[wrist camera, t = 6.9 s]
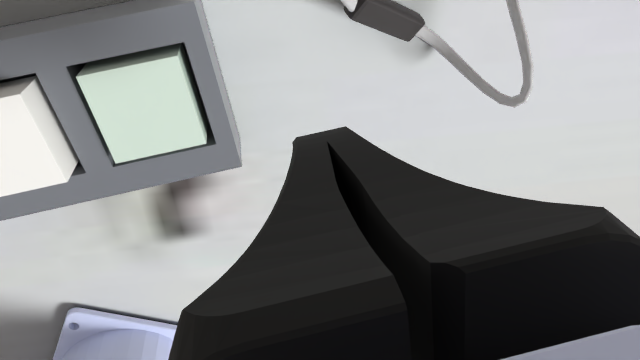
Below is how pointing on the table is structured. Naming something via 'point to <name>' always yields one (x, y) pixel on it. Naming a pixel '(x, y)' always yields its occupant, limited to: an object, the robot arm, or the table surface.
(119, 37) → the keypad
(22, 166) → the middle key
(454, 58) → the clip-on lamp
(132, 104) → the sage key
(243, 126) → the table surface
